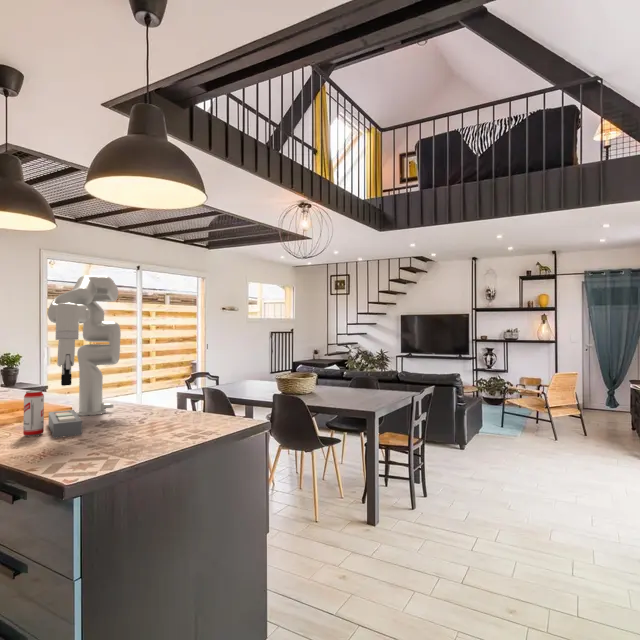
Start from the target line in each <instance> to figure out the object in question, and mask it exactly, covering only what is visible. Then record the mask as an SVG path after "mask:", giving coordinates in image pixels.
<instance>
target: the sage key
mask: <svg viewBox="0 0 640 640" xmlns="http://www.w3.org/2000/svg"><path fill="white" fill-rule="evenodd" d="M67 416H73V414H72V413H61V414H57V418H58V417H67Z"/></svg>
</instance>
